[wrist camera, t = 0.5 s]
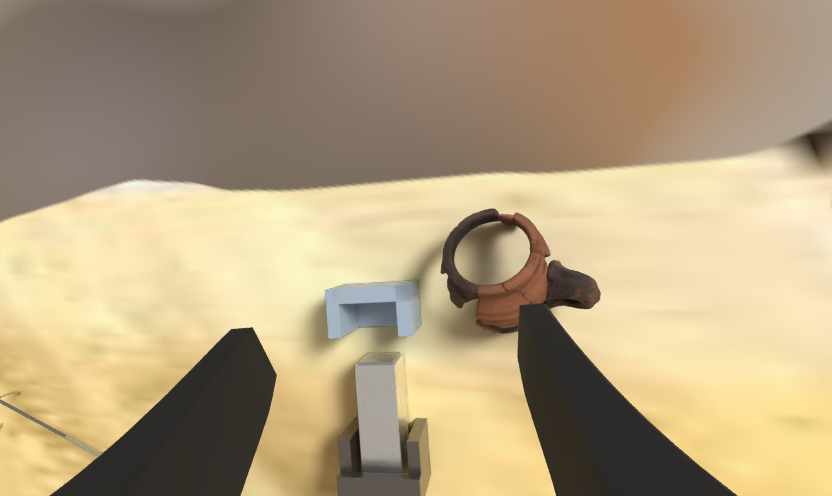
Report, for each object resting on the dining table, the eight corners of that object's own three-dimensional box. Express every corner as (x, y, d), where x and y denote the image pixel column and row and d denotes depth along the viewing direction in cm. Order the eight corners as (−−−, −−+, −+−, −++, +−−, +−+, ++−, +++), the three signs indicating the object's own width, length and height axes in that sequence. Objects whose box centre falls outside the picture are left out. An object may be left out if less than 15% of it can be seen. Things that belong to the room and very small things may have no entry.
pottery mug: (449, 332, 36) (418, 300, 29) (471, 240, 40) (448, 193, 33) (594, 359, 31) (597, 327, 24) (604, 250, 35) (609, 197, 28)
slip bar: (412, 485, 36) (404, 511, 33) (376, 484, 37) (364, 508, 33) (403, 351, 36) (394, 362, 33) (366, 352, 37) (354, 363, 33)
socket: (421, 324, 36) (411, 336, 31) (347, 326, 37) (328, 338, 33) (418, 280, 36) (408, 285, 31) (344, 284, 37) (324, 290, 33)
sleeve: (430, 473, 36) (421, 510, 31) (358, 471, 37) (339, 506, 32) (426, 418, 36) (417, 446, 31) (354, 417, 37) (334, 444, 32)
